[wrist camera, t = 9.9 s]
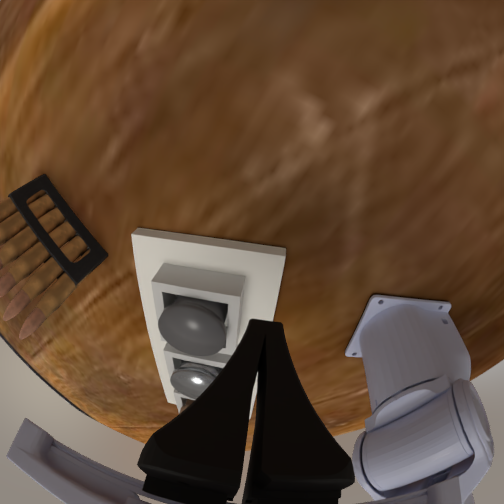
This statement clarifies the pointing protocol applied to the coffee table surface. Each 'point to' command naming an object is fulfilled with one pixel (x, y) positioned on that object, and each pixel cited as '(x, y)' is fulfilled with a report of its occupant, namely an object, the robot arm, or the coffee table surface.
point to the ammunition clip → (43, 250)
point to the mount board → (204, 289)
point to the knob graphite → (194, 325)
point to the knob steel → (193, 378)
